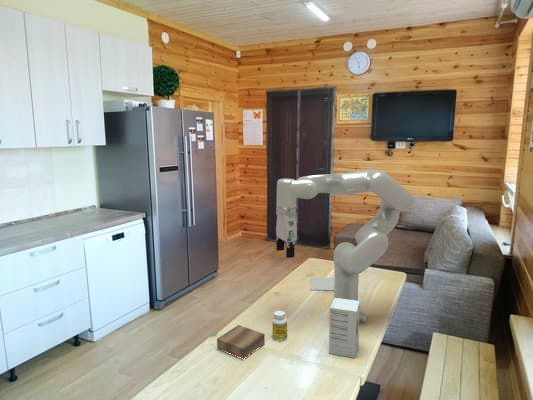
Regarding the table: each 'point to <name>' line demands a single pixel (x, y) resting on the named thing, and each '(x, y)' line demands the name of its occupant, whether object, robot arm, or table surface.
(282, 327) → the supplement bottle
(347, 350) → the supplement box
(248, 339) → the walnut stand
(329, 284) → the paper stack
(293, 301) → the table surface
